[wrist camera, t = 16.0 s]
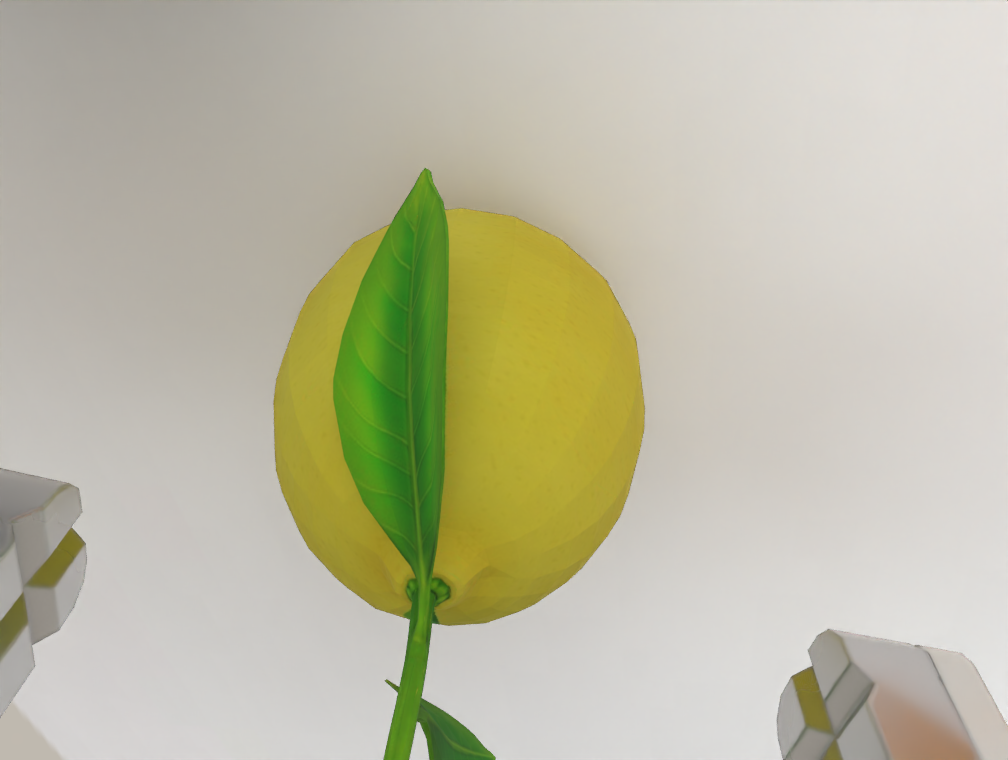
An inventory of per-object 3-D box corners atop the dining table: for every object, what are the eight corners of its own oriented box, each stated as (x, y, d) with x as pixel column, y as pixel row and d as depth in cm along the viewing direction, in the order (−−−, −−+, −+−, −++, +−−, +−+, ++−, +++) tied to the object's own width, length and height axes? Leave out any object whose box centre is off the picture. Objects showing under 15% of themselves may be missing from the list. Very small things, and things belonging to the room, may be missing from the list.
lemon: (512, 477, 18) (476, 1015, 9) (276, 344, 16) (-19, 842, 8) (716, 251, 15) (938, 746, 6) (450, 59, 13) (270, 374, 5)
